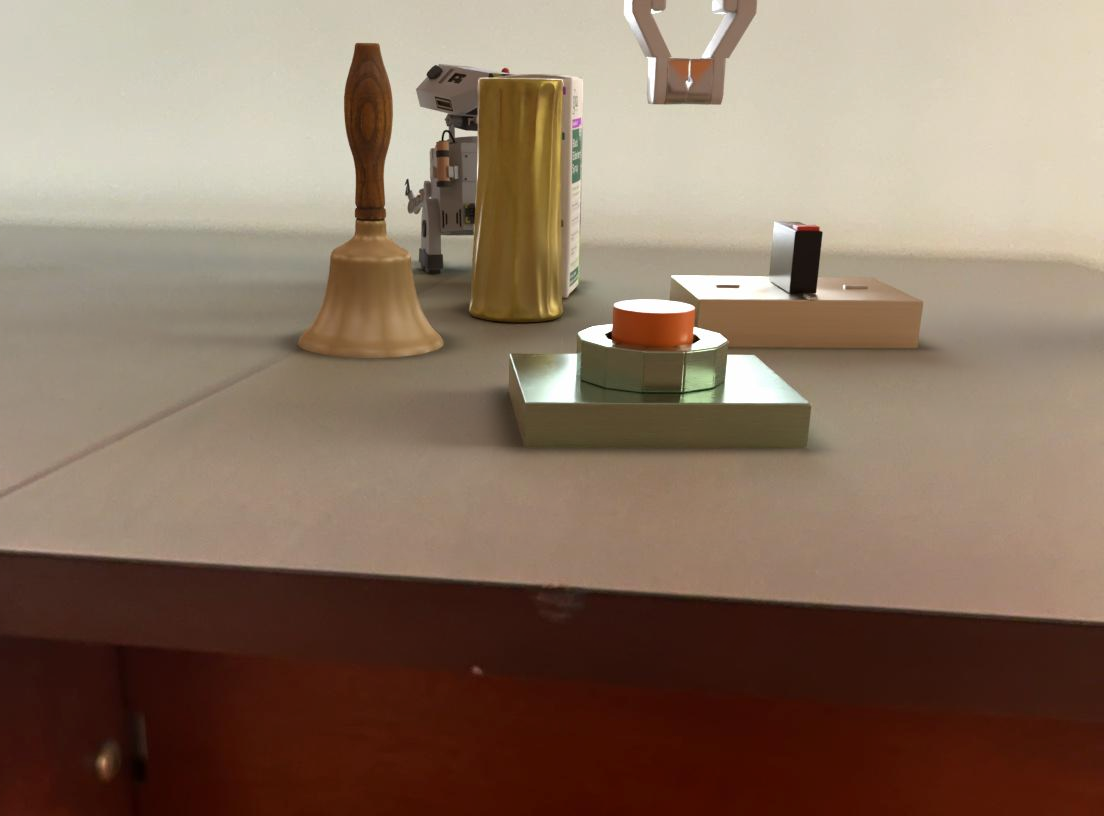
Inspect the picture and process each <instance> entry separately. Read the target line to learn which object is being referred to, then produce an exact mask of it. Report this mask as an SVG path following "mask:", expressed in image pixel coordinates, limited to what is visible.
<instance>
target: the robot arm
mask: <svg viewBox="0 0 1104 816" xmlns="http://www.w3.org/2000/svg"><path fill="white" fill-rule="evenodd" d="M623 3H624V4H623V15H624V17H625V19H626V22H627V23H628V26H629V27H630V29H631V31H632V33H633V35H634V37H635V39H636V41H637V43H638V45H639V48H640V49H641V51H642V53H643V56H644V58H646V59H647V61H648V64H647V82H646V83H647V86H646V98H647V104H648V105H702V106H703V105H705V106H707V105H708V106H709V105H713V106H714V105H717V106H720V105H722V103H723V99H724V94H725V93H724V92H725V78H726V63H727V59H730V57H731V55H732V54H733V52H734V51H735V49H736V47H737V45H738V44H739V43H740V40H741V39H742V37H743V36H744V34H745V33H746V31H747V29H748V28H749V26H750V25H751V23H752V22H753V20H754V18H755V16H756V14H757V10H758V0H712V3H711V12H712V13H713V14H715V15H724V17H723V19H722V20H721V22H720V24H719V26H718V28H717V29H716V31H715V33H714V34H713V36H712V38H711V39H710V42H709V43H708V45H707V47H706V49H705V50H704V52H703V54H702V55H701V57H700V58H685V57H681V58H680V57H672V54H671V52H670V50H669V48H668V46H667V43H666V41H665V39H664V38H663V35H662V33H661V30H660V28H659V26H658V24H657V22H656V19H655V17H654V15H653V14H658V13H660V12H664V11H665V10H666V8H667V0H624V1H623Z"/></svg>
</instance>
